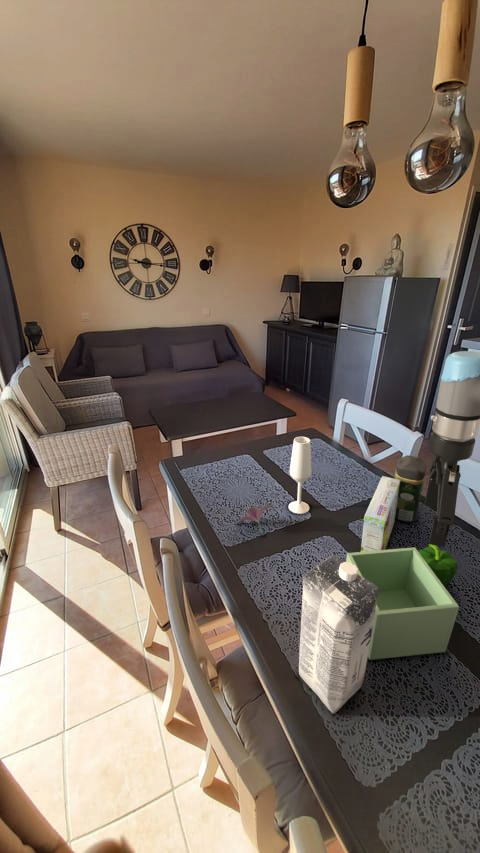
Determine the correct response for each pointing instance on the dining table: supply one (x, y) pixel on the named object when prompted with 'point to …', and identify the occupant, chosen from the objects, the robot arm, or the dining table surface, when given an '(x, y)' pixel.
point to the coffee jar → (409, 487)
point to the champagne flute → (300, 470)
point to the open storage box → (406, 604)
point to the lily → (254, 514)
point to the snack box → (380, 515)
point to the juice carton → (335, 630)
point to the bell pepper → (440, 563)
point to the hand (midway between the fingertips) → (433, 523)
